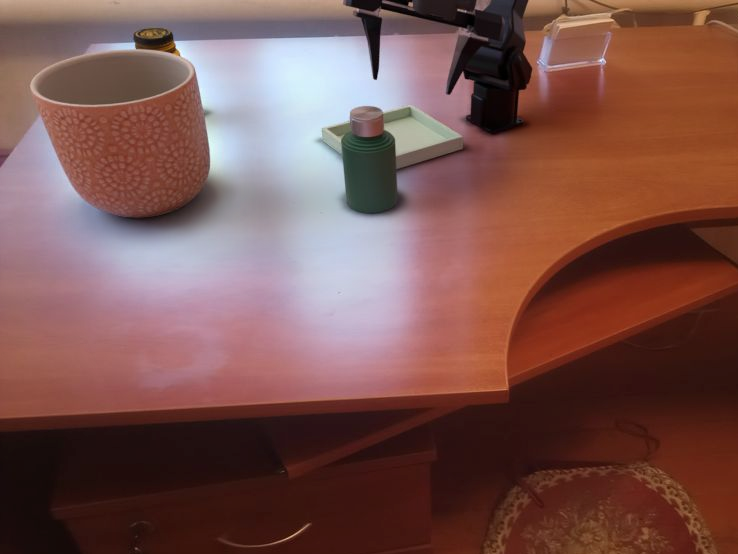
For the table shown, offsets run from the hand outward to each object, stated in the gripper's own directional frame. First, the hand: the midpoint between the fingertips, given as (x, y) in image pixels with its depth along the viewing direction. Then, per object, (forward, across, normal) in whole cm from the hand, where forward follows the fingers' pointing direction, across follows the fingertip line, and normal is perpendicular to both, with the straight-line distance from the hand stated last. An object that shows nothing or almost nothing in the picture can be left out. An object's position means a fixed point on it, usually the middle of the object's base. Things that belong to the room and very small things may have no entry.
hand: (411, 87), depth 89 cm
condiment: (+14, -31, +25) cm, 42 cm away
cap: (+4, -6, -6) cm, 9 cm away
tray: (+9, 0, +12) cm, 15 cm away
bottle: (+14, -3, -3) cm, 15 cm away
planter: (+19, -30, +2) cm, 35 cm away
